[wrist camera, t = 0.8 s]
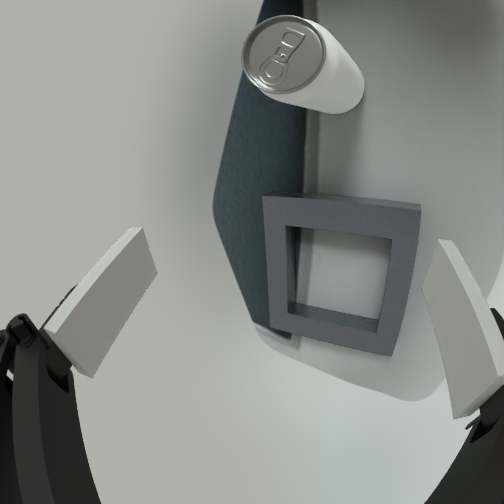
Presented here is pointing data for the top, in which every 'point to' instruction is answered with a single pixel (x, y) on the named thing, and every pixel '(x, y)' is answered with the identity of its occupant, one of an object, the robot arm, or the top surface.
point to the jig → (348, 221)
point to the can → (301, 65)
